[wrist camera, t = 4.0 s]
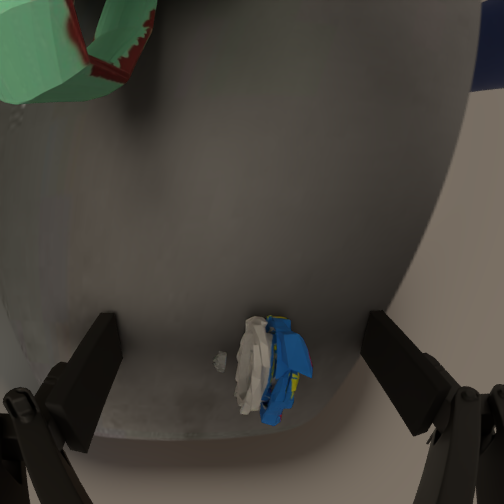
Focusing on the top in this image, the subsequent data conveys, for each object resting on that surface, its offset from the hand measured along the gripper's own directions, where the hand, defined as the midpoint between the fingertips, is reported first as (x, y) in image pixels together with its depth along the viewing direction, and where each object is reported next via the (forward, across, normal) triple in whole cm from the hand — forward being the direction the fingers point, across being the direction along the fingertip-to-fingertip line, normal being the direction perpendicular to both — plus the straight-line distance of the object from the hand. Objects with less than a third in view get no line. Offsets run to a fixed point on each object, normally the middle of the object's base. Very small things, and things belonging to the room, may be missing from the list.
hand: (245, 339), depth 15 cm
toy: (0, 0, 0) cm, 1 cm away
